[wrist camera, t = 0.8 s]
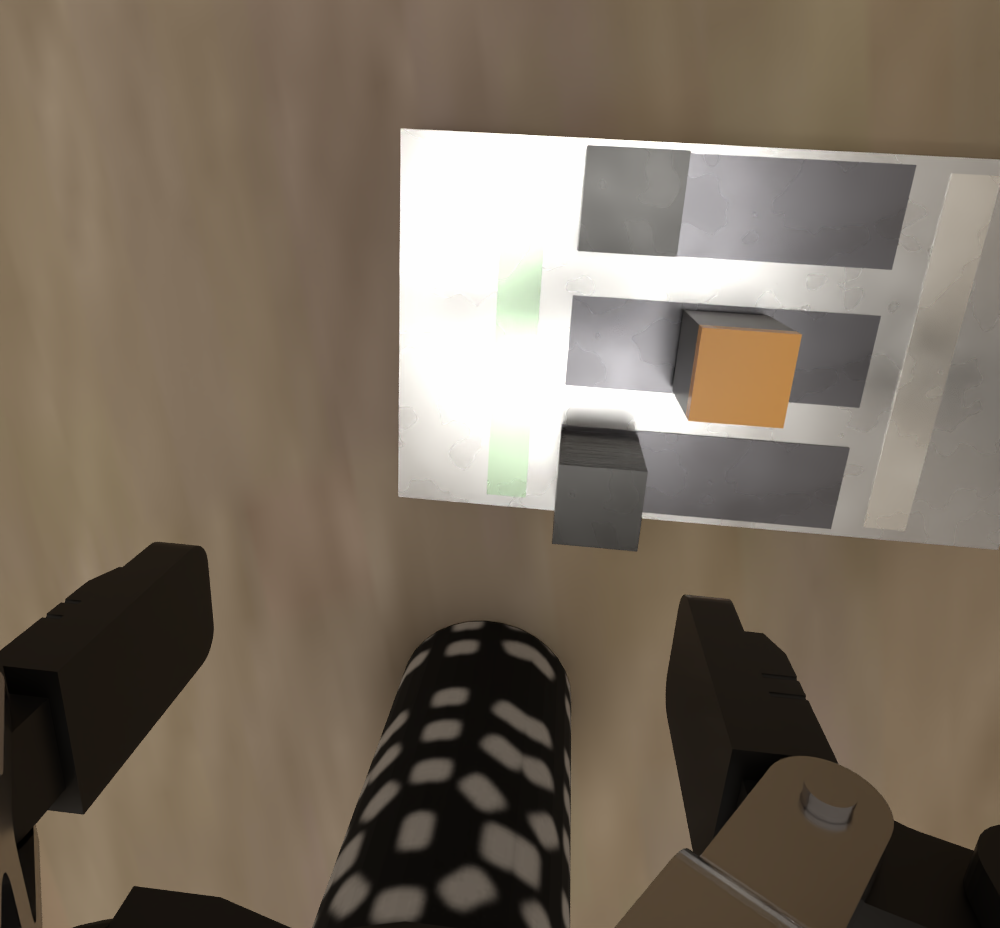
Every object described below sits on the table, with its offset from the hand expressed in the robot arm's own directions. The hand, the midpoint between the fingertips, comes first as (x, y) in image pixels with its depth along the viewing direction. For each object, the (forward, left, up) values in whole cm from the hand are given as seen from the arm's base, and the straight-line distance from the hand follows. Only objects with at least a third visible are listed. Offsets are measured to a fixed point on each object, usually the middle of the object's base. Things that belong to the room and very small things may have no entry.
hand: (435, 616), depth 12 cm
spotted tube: (0, +16, -19) cm, 25 cm away
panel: (-8, -2, -19) cm, 20 cm away
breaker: (-8, -2, -16) cm, 18 cm away
